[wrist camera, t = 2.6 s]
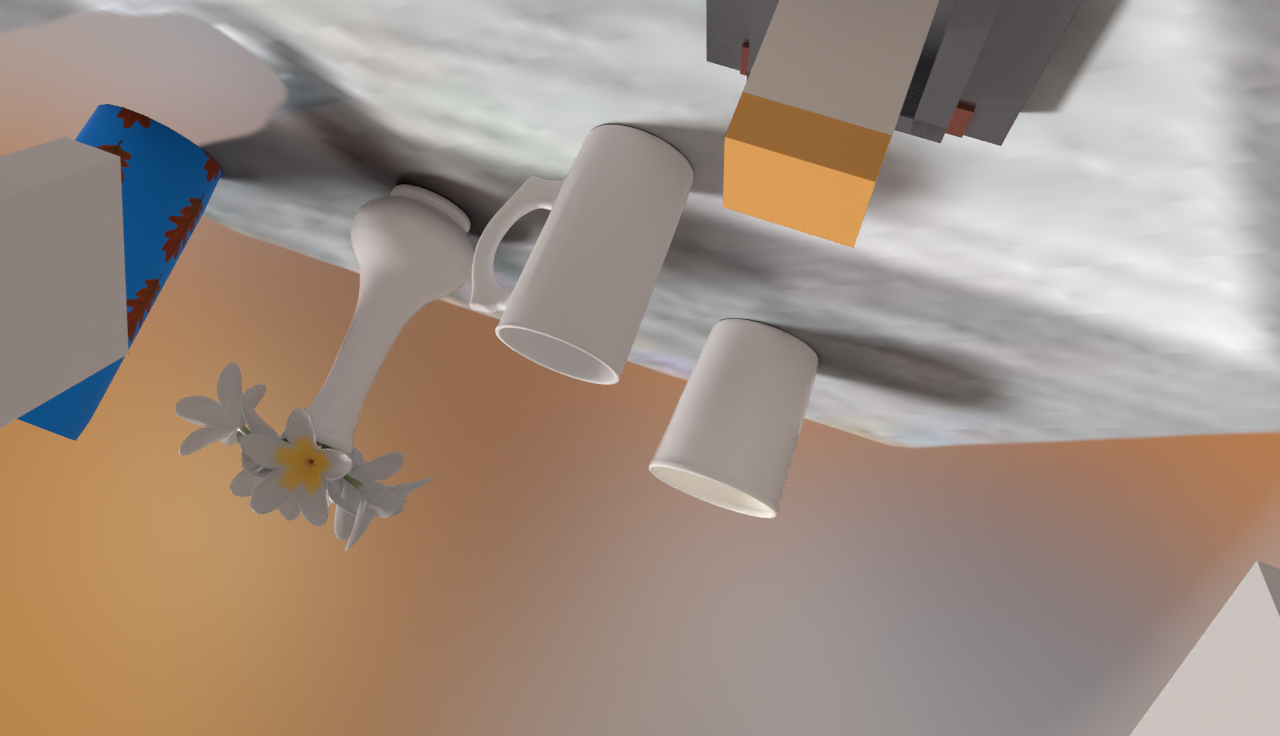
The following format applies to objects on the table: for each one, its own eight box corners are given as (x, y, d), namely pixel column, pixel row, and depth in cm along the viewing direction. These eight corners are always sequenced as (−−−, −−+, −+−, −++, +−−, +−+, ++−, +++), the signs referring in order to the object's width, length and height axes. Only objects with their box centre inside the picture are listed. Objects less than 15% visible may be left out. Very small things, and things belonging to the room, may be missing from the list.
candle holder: (850, 378, 74) (800, 528, 71) (743, 364, 81) (693, 501, 78) (792, 318, 67) (734, 482, 64) (680, 307, 74) (622, 456, 71)
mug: (693, 138, 49) (605, 353, 46) (706, 203, 56) (629, 396, 53) (514, 93, 52) (419, 294, 49) (545, 160, 58) (463, 342, 55)
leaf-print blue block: (197, 134, 78) (34, 425, 71) (241, 192, 88) (102, 450, 82) (70, 86, 78) (-103, 371, 72) (129, 148, 88) (-18, 403, 82)
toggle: (943, -13, 31) (853, 247, 29) (820, -45, 32) (722, 206, 29) (976, -109, 27) (875, 182, 25) (836, -144, 28) (724, 136, 25)
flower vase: (285, 145, 73) (117, 460, 66) (479, 171, 64) (307, 538, 57) (391, 234, 83) (256, 512, 77) (569, 267, 74) (433, 585, 68)
